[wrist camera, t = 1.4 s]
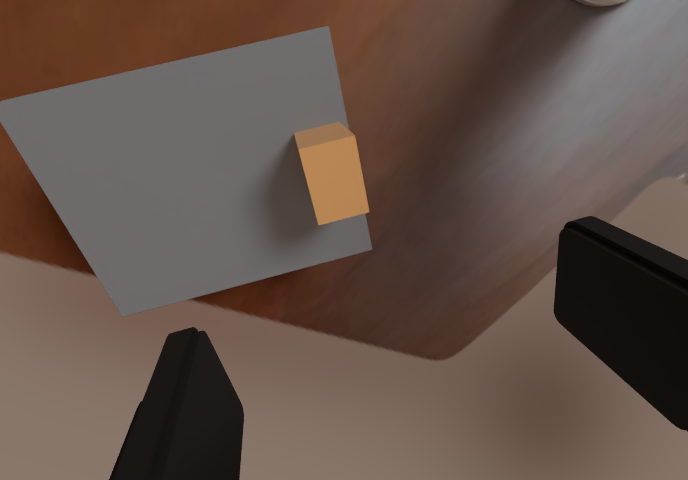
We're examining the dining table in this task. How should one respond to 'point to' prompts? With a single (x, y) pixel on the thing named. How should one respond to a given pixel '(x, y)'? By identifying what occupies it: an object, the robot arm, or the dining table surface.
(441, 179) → the dining table surface
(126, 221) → the grey board with block
